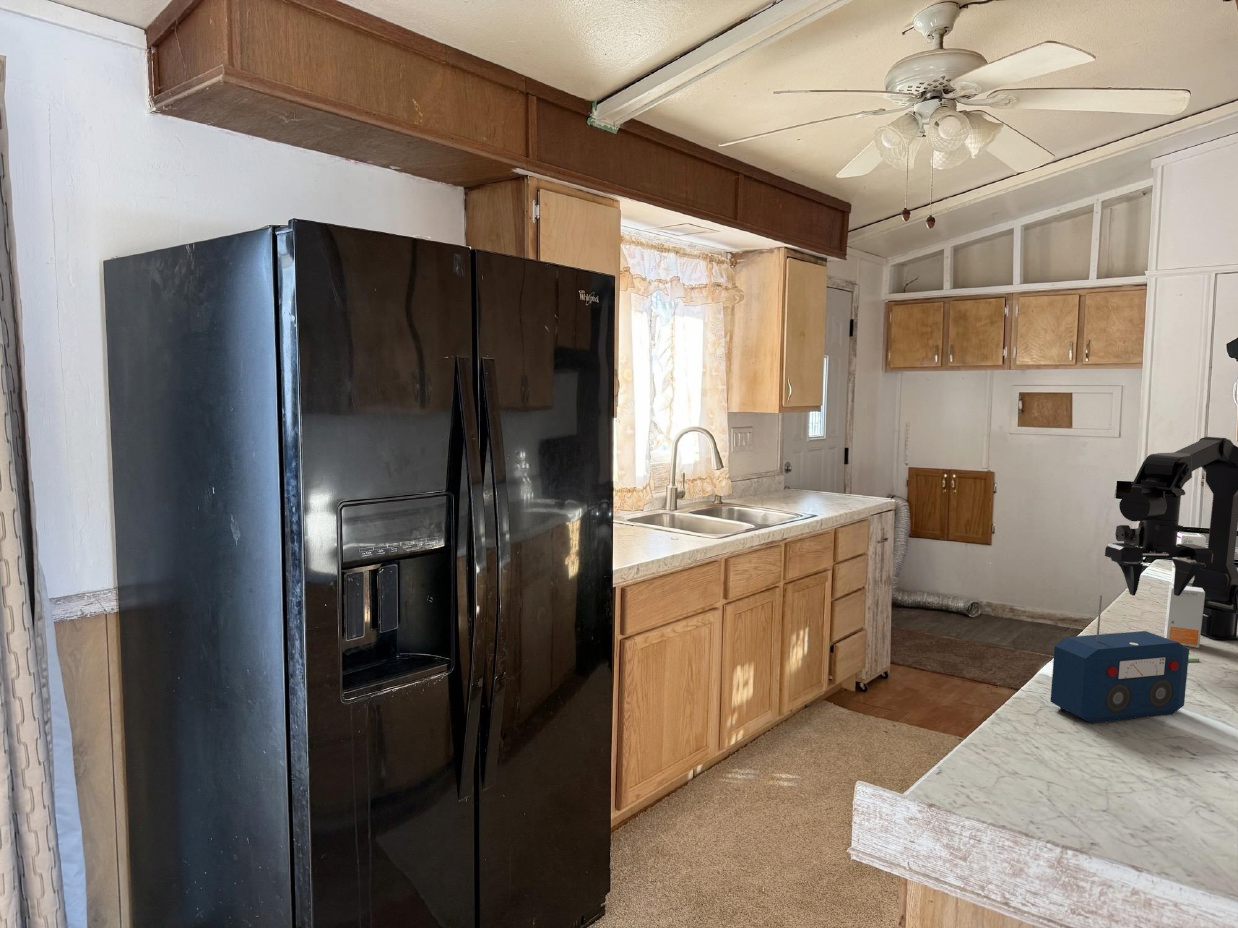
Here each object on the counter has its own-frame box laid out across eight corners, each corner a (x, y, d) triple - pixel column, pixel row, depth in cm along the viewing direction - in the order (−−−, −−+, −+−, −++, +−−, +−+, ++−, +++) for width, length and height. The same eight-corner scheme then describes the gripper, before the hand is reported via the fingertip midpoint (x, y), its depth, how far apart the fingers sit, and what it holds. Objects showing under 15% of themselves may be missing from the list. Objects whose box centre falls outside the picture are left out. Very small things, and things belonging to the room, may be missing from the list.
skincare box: (1165, 643, 179) (1170, 587, 178) (1163, 638, 183) (1168, 583, 181) (1200, 648, 176) (1205, 591, 175) (1197, 643, 180) (1202, 587, 179)
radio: (1087, 728, 134) (1097, 604, 132) (1045, 707, 143) (1054, 590, 141) (1191, 716, 140) (1202, 597, 138) (1145, 696, 148) (1155, 584, 146)
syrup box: (1177, 588, 228) (1181, 534, 226) (1170, 583, 233) (1174, 531, 232) (1201, 590, 226) (1206, 536, 225) (1193, 585, 232) (1198, 532, 230)
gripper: (1177, 512, 177) (1170, 585, 179) (1091, 511, 176) (1085, 584, 178) (1218, 521, 166) (1210, 599, 168) (1126, 520, 165) (1119, 598, 167)
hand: (1154, 595), depth 170 cm, fingers open, 9 cm apart
